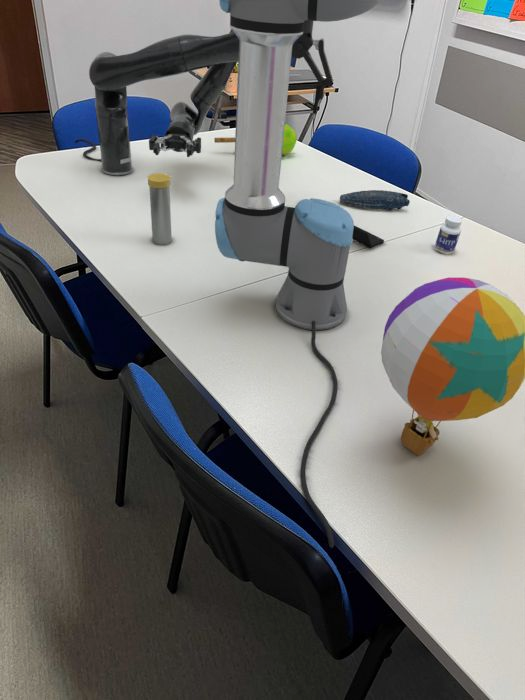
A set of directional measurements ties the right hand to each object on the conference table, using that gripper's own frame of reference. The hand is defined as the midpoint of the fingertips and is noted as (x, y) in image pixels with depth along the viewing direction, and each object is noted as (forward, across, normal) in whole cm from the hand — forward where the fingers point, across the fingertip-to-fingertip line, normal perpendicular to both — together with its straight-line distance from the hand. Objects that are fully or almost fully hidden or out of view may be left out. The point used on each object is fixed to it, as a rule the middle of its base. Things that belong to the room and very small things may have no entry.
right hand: (288, 109), depth 135 cm
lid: (+12, +27, +28) cm, 40 cm away
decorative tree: (+28, +15, -47) cm, 56 cm away
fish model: (+28, -28, -13) cm, 41 cm away
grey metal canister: (+28, +27, +28) cm, 47 cm away
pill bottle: (+28, -47, +11) cm, 56 cm away
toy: (+28, -33, +84) cm, 95 cm away
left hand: (+13, +30, +6) cm, 33 cm away
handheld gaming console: (+28, -23, +12) cm, 38 cm away
